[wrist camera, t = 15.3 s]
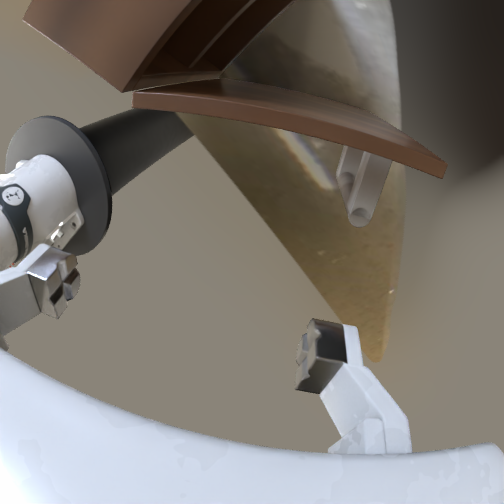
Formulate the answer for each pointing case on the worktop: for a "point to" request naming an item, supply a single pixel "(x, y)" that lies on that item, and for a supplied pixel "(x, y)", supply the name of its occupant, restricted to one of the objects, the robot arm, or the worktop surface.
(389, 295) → the worktop surface
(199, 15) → the cupboard
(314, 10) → the worktop surface
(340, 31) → the worktop surface
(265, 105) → the cupboard door
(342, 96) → the worktop surface
